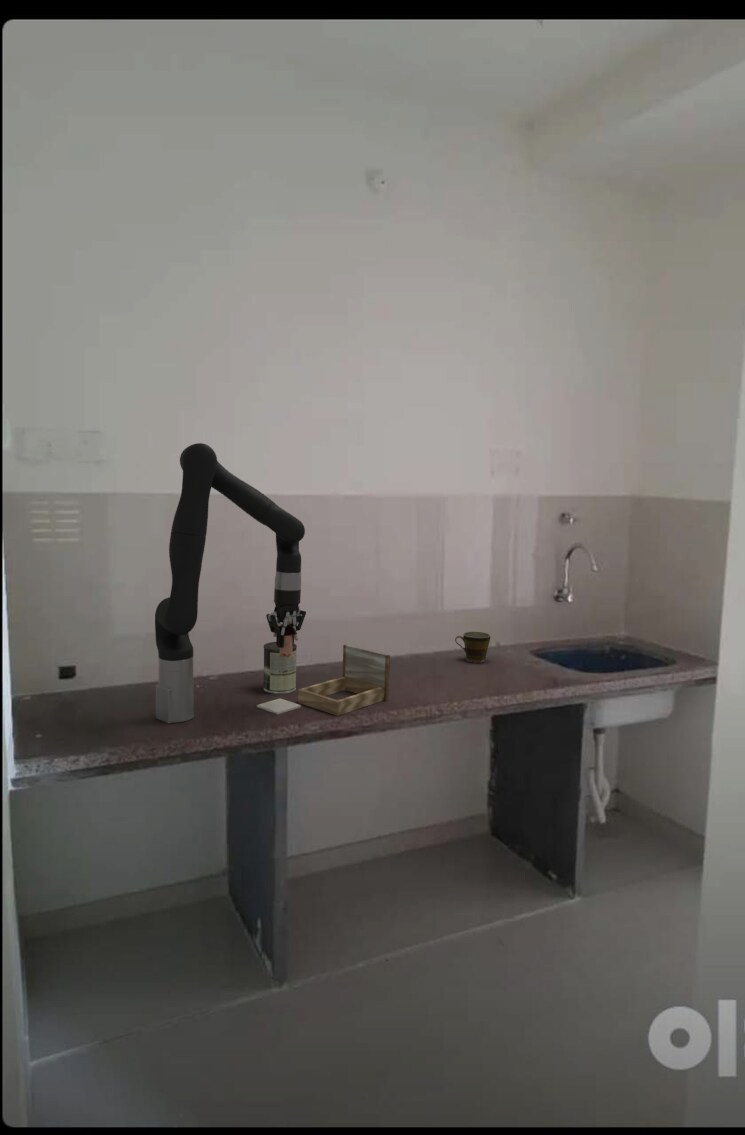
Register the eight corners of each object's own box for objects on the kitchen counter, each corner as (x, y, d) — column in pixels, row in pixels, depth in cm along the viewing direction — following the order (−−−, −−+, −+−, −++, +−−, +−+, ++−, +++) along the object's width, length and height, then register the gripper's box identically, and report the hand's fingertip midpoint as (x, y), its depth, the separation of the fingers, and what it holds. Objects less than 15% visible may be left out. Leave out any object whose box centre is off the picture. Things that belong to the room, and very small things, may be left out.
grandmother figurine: (299, 656, 214) (301, 613, 213) (296, 658, 210) (299, 615, 209) (273, 653, 215) (275, 610, 214) (270, 656, 211) (272, 612, 210)
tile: (277, 714, 208) (277, 712, 208) (256, 707, 214) (256, 705, 214) (300, 707, 215) (300, 705, 215) (280, 700, 221) (280, 698, 220)
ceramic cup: (486, 657, 278) (487, 631, 276) (491, 664, 268) (493, 637, 266) (451, 657, 277) (453, 631, 275) (456, 664, 267) (457, 637, 266)
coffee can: (256, 690, 230) (256, 646, 228) (277, 682, 239) (277, 639, 237) (282, 696, 225) (283, 651, 223) (302, 688, 233) (303, 644, 232)
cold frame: (340, 716, 208) (341, 668, 206) (295, 701, 219) (296, 656, 218) (388, 700, 224) (390, 655, 222) (344, 687, 235) (345, 644, 234)
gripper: (277, 591, 202) (275, 652, 204) (314, 587, 213) (311, 645, 215) (260, 587, 207) (257, 647, 209) (296, 583, 218) (294, 641, 220)
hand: (285, 646), depth 212 cm, fingers closed on grandmother figurine, 3 cm apart
